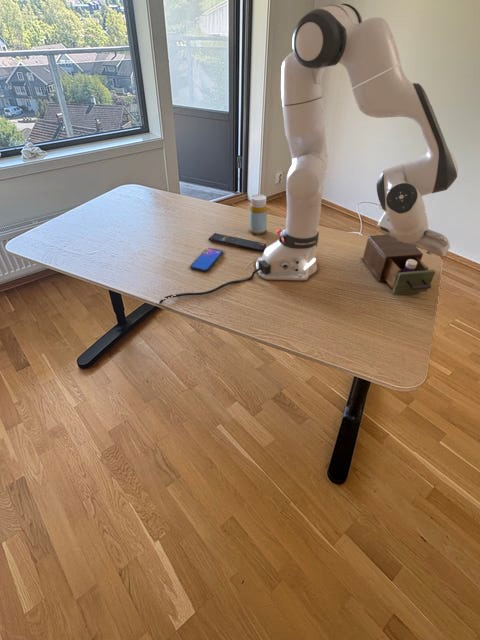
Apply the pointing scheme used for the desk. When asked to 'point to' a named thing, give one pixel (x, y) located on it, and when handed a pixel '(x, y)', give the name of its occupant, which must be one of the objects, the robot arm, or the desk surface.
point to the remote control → (238, 242)
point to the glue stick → (410, 265)
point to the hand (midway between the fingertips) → (415, 246)
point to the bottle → (258, 214)
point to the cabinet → (386, 253)
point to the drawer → (407, 276)
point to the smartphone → (206, 260)
